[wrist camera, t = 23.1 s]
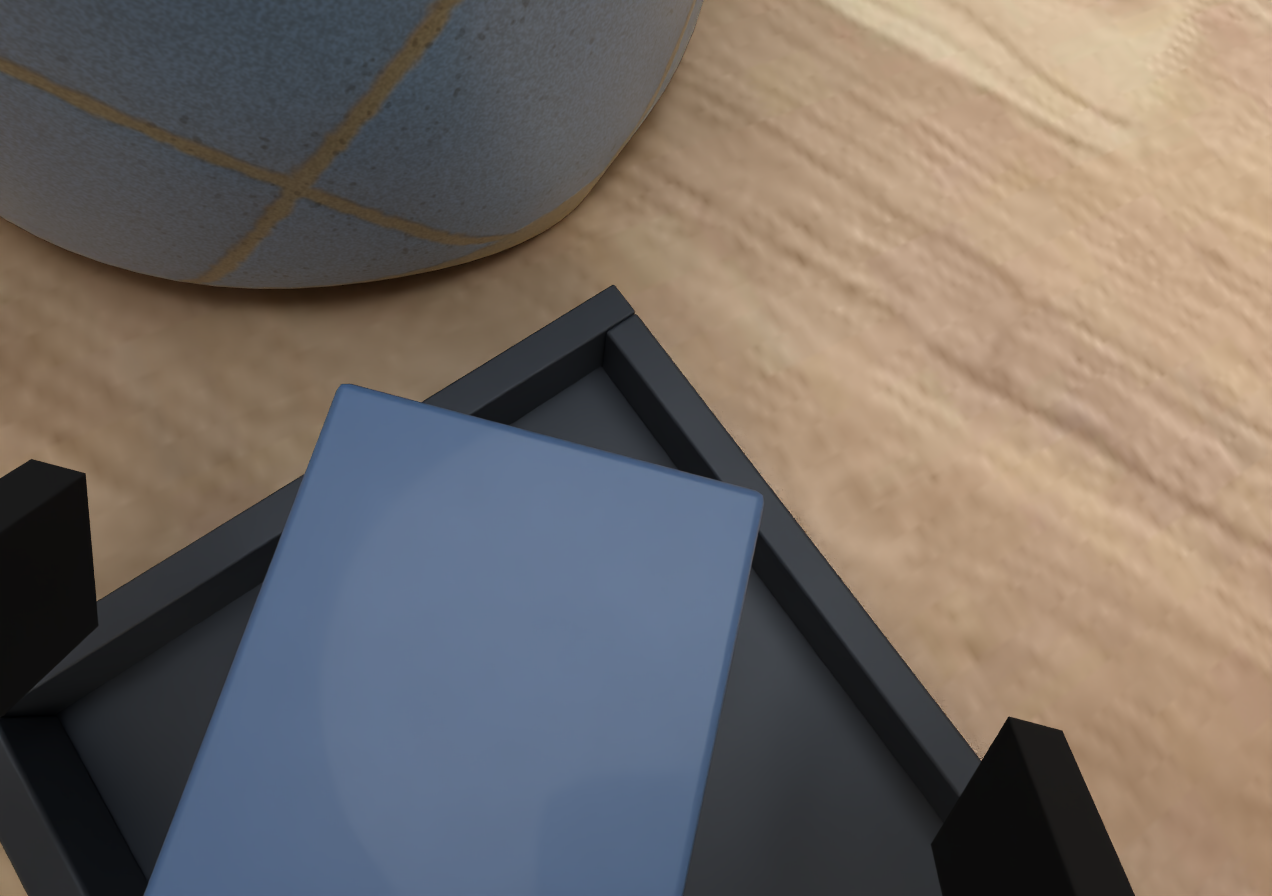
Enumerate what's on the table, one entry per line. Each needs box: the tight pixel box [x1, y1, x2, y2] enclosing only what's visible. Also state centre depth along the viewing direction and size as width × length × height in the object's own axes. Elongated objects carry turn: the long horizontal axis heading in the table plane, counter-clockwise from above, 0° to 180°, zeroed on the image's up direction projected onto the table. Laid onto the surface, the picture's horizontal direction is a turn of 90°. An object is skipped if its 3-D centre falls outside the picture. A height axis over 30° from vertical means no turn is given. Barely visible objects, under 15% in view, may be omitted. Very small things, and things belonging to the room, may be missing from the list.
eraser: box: [144, 384, 764, 896], centre depth 12 cm, size 8×4×11 cm, turn 166°
